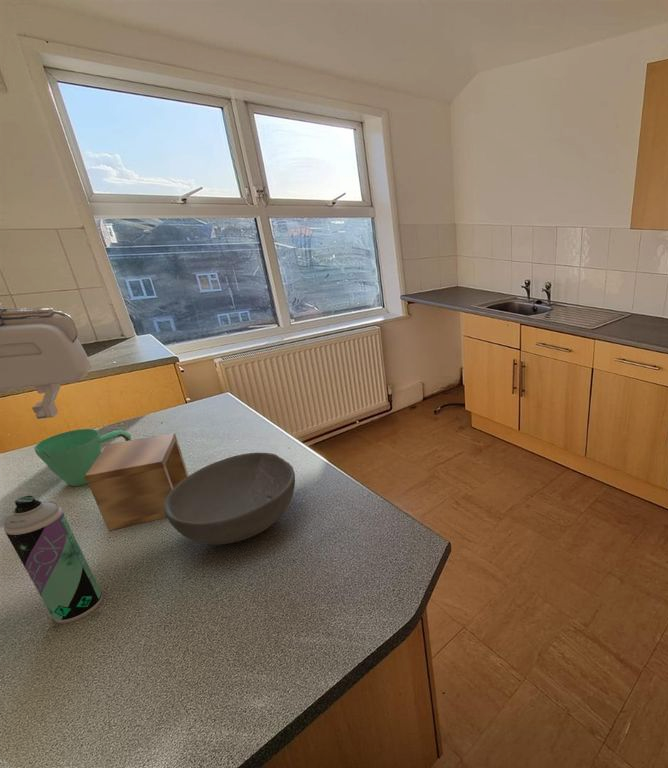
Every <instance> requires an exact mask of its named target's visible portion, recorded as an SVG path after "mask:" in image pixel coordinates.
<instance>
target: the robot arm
mask: <svg viewBox="0 0 668 768" xmlns="http://www.w3.org/2000/svg"><path fill="white" fill-rule="evenodd" d="M78 337H79V333H78V329H77V327H76V323H75V321H74V319H73V317H72V316H70V315H69V314H67V313H66V312H63V311H60V310H55V309H54V308H53V307H47V306H45V307H44V306H42V307H36V308H4V307H3V304H2V303H1V301H0V391H3V390H12V389H13V390H14V389H20V388H21V389H22V388H30V387H35V389H36V391H37V394H39V395H41V394H44V395H43V398H42V401H38V402H37V403H36V404H34V405H33V406H32V407H31V409H32V411H33V413H34V414H35V417H36V419H38V420H41V419H49V418H50V419H51V418H55V417H56V416H57V415H58V414H59V409H58V408H57V405H56V402H55V401H56V399H57V396H58V394H59V392H60V390H61V384H67V383H76V382H79V381H81V380H82V379H84V378H85V377H86V376H87V374H89V372H90V370H91V369H92V364H91V361H90V358H89V356H88V355H87V352H86V351H85V348H84V346H83V344H82V343H81V341H80V340H79V338H78Z"/></svg>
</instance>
